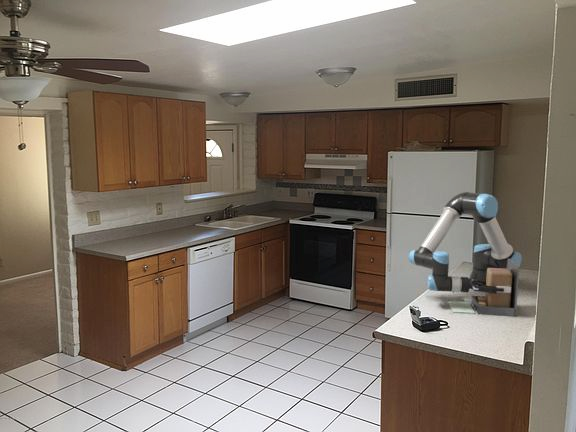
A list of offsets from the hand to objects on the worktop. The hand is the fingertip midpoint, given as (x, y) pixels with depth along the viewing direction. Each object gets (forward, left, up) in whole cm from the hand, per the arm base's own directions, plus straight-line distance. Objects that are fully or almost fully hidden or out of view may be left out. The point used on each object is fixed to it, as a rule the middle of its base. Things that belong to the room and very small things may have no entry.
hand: (507, 286), depth 244 cm
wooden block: (0, -4, -12) cm, 13 cm away
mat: (0, -21, -12) cm, 24 cm away
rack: (0, -6, -12) cm, 14 cm away
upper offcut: (0, -11, -10) cm, 15 cm away
